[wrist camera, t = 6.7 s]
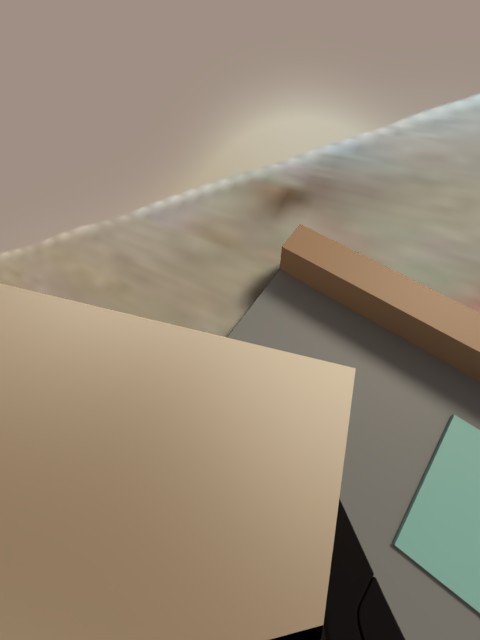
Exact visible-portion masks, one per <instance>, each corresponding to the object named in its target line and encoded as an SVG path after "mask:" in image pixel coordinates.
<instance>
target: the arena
mask: <svg viewBox="0 0 480 640" xmlns="http://www.w3.org/2000/svg"><path fill="white" fill-rule="evenodd" d="M227 338H231V339H235V340H239V341H243V342H248V343H252V344H256V345H260V346H264V347H268V348H273V349H277V350H281V351H285V352H289V353H294V354H298V355H302V356H306V357H310V358H315V359H319V360H323V361H327V362H331V363H336V364H340V365H344V366H348V367H352V368H356V371H355V378H354V386H353V394H352V402H351V410H350V418H349V426H348V434H347V442H346V450H345V458H344V466H343V474H342V481H341V489H340V497H339V498H340V500H341V502H342V504H343V507H344V509H345V511H346V513H347V515H348V518H349V520H350V522H351V524H352V526H353V529H354V531H355V533H356V535H357V537H358V539H359V542H360V544H361V546H362V548H363V550H364V553H365V555H366V557H367V559H368V561H369V563H370V566H371V568H372V570H373V572H374V576H373V577H376V579H377V581H378V583H379V585H380V587H381V589H382V592H383V594H384V596H385V598H386V600H387V603H388V605H389V607H390V609H391V611H392V613H393V615H394V617H395V619H396V621H397V623H398V625H399V627H400V630H401V632H402V634H403V636H404V638H405V639H406V640H480V313H479V312H477V311H475V310H473V309H471V308H469V307H467V306H465V305H463V304H461V303H459V302H457V301H455V300H453V299H451V298H449V297H447V296H444V295H442V294H440V293H438V292H436V291H434V290H432V289H430V288H428V287H426V286H424V285H422V284H420V283H418V282H416V281H414V280H412V279H410V278H408V277H406V276H404V275H402V274H400V273H398V272H396V271H394V270H392V269H390V268H388V267H386V266H384V265H382V264H380V263H378V262H376V261H374V260H372V259H370V258H368V257H365V256H363V255H361V254H359V253H357V252H355V251H353V250H351V249H349V248H347V247H345V246H343V245H341V244H339V243H337V242H335V241H333V240H331V239H329V238H327V237H325V236H323V235H321V234H319V233H317V232H315V231H313V230H311V229H309V228H307V227H305V226H303V225H301V224H300V225H299V226H298V227H297V229H296V230H295V231H294V232H293V234H292V235H291V236H290V237H289V239H288V240H287V241H286V242H285V244H284V245H283V246H282V253H281V263H280V270H279V271H278V272H277V274H276V275H275V276H274V277H273V279H272V280H271V281H270V283H269V284H268V285H267V287H266V288H265V289H264V290H263V292H262V293H261V294H260V296H259V297H258V298H257V299H256V301H255V302H254V303H253V305H252V306H251V307H250V309H249V310H248V311H247V312H246V314H245V315H244V316H243V318H242V319H241V320H240V321H239V323H238V324H237V325H236V327H235V328H234V329H233V330H232V332H231V333H230V334H229V336H228V337H227Z"/></svg>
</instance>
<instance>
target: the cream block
mask: <svg viewBox="0 0 480 640" xmlns="http://www.w3.org/2000/svg"><path fill="white" fill-rule="evenodd" d="M355 371H356V368H352V367H348V366H344V365H340V364H336V363H331V362H327V361H323V360H319V359H315V358H310V357H306V356H302V355H298V354H294V353H289V352H285V351H281V350H277V349H273V348H268V347H264V346H260V345H256V344H252V343H248V342H243V341H239V340H235V339H231V338H227V337H222V336H218V335H214V334H210V333H206V332H201V331H197V330H193V329H189V328H185V327H180V326H176V325H172V324H168V323H164V322H159V321H155V320H151V319H147V318H143V317H139V316H134V315H130V314H126V313H122V312H118V311H113V310H109V309H105V308H101V307H97V306H92V305H88V304H84V303H80V302H76V301H71V300H67V299H63V298H59V297H55V296H50V295H46V294H42V293H38V292H34V291H30V290H25V289H21V288H17V287H13V286H9V285H4V284H0V640H320V638H321V633H322V629H323V624H324V616H325V608H326V600H327V592H328V584H329V577H330V569H331V561H332V553H333V545H334V537H335V529H336V521H337V513H338V505H339V497H340V489H341V481H342V474H343V466H344V458H345V450H346V442H347V434H348V426H349V418H350V410H351V402H352V394H353V386H354V378H355Z"/></svg>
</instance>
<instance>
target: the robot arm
mask: <svg viewBox="0 0 480 640" xmlns="http://www.w3.org/2000/svg"><path fill="white" fill-rule="evenodd" d="M373 576H374V572H373V570H372V568H371V566H370V563H369V561H368V559H367V557H366V555H365V553H364V550H363V548H362V546H361V544H360V542H359V539H358V537H357V535H356V533H355V531H354V529H353V526H352V524H351V522H350V520H349V518H348V515H347V513H346V511H345V509H344V507H343V504H342V502H341V500H340V498H339V505H338V513H337V521H336V529H335V537H334V545H333V553H332V561H331V569H330V577H329V584H328V592H327V600H326V608H325V616H324V624H323V629H322V633H321V638H320V640H406V639H405V638H404V636H403V634H402V632H401V630H400V627H399V625H398V623H397V621H396V619H395V617H394V615H393V613H392V611H391V609H390V607H389V605H388V603H387V600H386V598H385V596H384V594H383V592H382V589H381V587H380V585H379V583H378V581H377V579H376V577H373Z"/></svg>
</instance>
